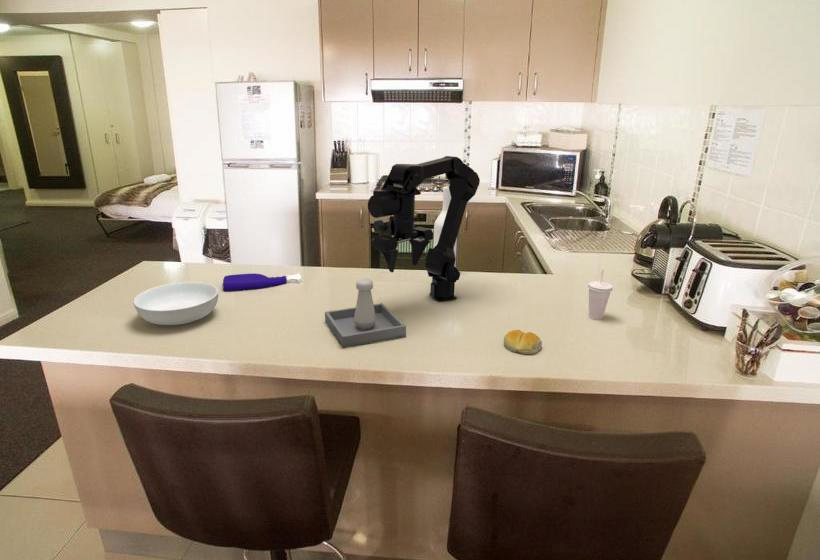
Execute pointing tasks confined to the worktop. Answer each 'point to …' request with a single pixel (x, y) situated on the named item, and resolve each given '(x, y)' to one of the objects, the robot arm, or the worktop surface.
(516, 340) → the bread roll
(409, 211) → the robot arm
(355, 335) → the tray
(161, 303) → the serving bowl
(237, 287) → the spray bottle
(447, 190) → the bottle
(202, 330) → the worktop surface
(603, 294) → the smoothie
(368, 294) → the salt shaker
